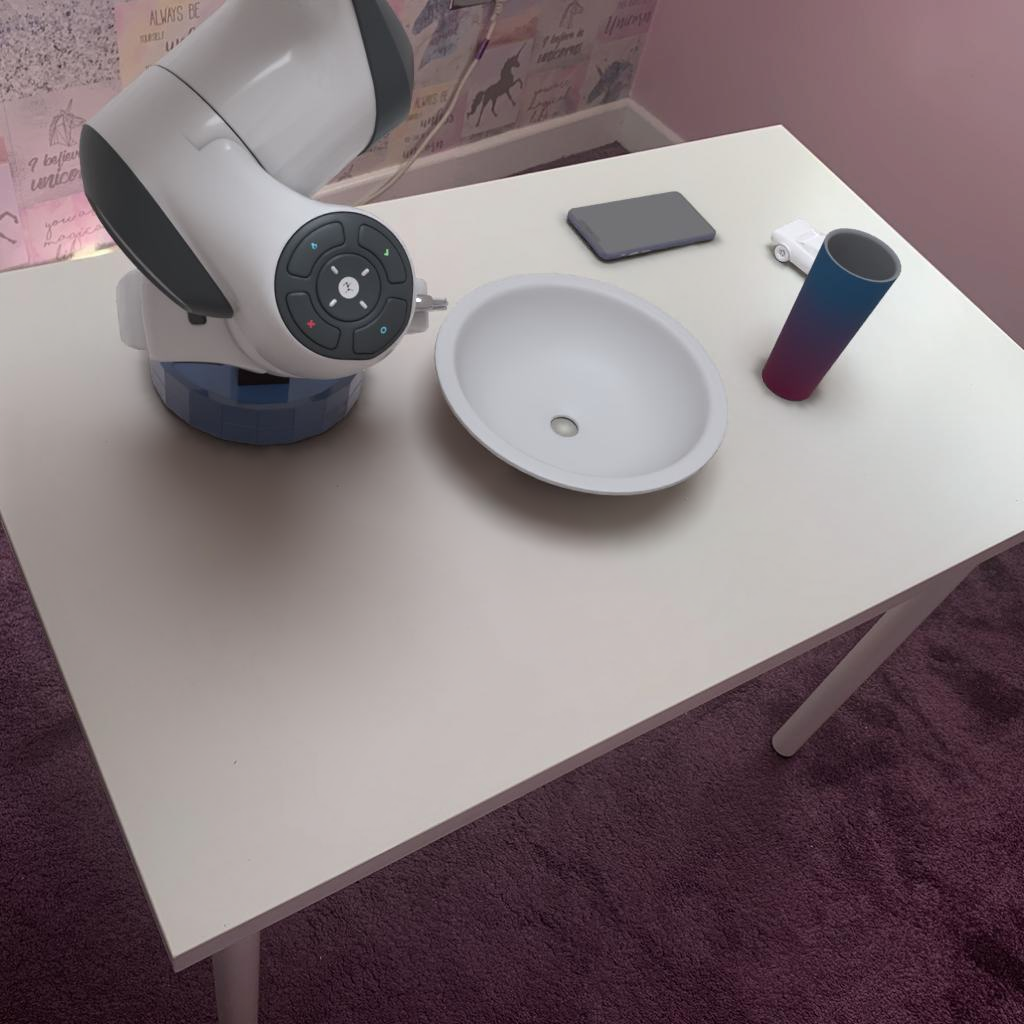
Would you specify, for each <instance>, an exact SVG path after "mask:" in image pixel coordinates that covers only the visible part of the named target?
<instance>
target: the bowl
mask: <svg viewBox="0 0 1024 1024" xmlns="http://www.w3.org/2000/svg"><path fill="white" fill-rule="evenodd" d="M148 358H149V367H150V376H151V383H152V385H153V387H154V389H155V390H156V391H157V394H158V395H159V397H160V398H161V401H163V403H164V405H165V407H167V408H168V409H169V410H170V411H171V412H173V413H174V414H175V415H176V416H177V417H179V418H180V419H181V420H182V421H184V422H185V423H186V424H188V425H189V426H190V427H192V428H195V429H196V430H199V431H201V432H203V433H205V434H208V435H211V436H213V437H215V438H218V439H220V440H223V441H229V442H236V443H241V444H248V445H253V446H265V445H266V446H267V445H280V444H291V443H296V442H299V441H302V440H305V439H307V438H311V437H314V436H318V435H321V434H323V433H324V432H326V431H327V430H329V429H331V428H332V427H333V426H334V425H336V424H338V423H339V422H340V421H342V420H343V419H344V418H346V416H347V415H348V414H349V412H350V411H351V410H352V408H353V406H354V405H355V403H356V402H357V400H358V399H359V397H360V395H361V390H362V389H361V388H362V383H363V379H364V378H363V377H364V373H365V372H364V371H365V370H364V371H361V372H359V373H356V374H353V375H350V376H347V377H343V378H338V379H327V380H321V379H308V378H290V380H289V383H286V384H264V385H242V386H238V384H237V378H236V373H235V367H234V366H229V365H224V366H218V365H211V364H193V363H171V362H155V361H153V360H151V359H150V356H149V355H148Z"/></svg>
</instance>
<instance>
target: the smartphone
mask: <svg viewBox="0 0 1024 1024" xmlns="http://www.w3.org/2000/svg"><path fill="white" fill-rule="evenodd" d="M566 218H567V220H568V221H569V222H570V223H571V224H572V225H573V226H574V228H575V229H576V230H577V231H578V233H579V234H580V235H581V236H582V238H584V239H585V241H586V242H587V244H589V245H590V248H592V249H593V251H595V253H596V254H597V255H598V256H599V258H602V259H603V260H607V261H609V260H614V259H619V258H625V257H629V256H634V255H639V254H644V253H650V252H654V251H659V250H664V249H668V248H669V249H670V248H674V247H679V246H683V245H688V244H693V243H698V242H703V241H704V242H705V241H709V240H712V239H713V238H715V237H716V235H717V230H716V229H715V228H714V227H713V226H712V225H711V224H710V223H709V222H708V221H707V219H706V218H705V217H704V216H703V214H701V213H700V212H699V211H698V210H697V209H696V208H695V207H694V206H693V204H692V203H690V201H689V200H688V199H687V198H686V197H685V196H684V195H683V194H682V193H681V192H679V191H677V190H675V191H674V190H673V191H667V192H661V193H655V194H649V195H644V196H636V197H631V198H626V199H620V200H619V199H618V200H614V201H607V202H602V203H597V204H596V203H595V204H591V205H584V206H578V207H574V208H573V207H572V208H571V209H569V210H568V213H567V216H566Z"/></svg>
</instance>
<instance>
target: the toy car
mask: <svg viewBox="0 0 1024 1024" xmlns="http://www.w3.org/2000/svg"><path fill="white" fill-rule="evenodd" d="M826 235H827V234H825V233H822V232H820V231H818V230H817V229H816V228H815V227H813V226H812V225H811V224H809V223H808V222H806V221H805V220H803V219H802V218H798V219H795V220H793V221H790V222H788V223H786V224H785V225H782V226H780V227H778V228H777V229H775V230H773V232H772V233H771V235H770V240H771V242H772V244H773V245H774V246H775V249H774V256H775V258H776V259H777V261H779V262H783V263H785V262H790V263H792V264H793V265H795V266H796V267H797V268H798V269H800V270H801V271H802V272H803V273H804V274H806V276H807V275H808V273H809V271H810V269H811V267H812V265H813V262H814V260H815V258H816V256H817V254H818V252H819V250H820V248H821V245H822V243H823V241H824V239H825V237H826Z"/></svg>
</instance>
